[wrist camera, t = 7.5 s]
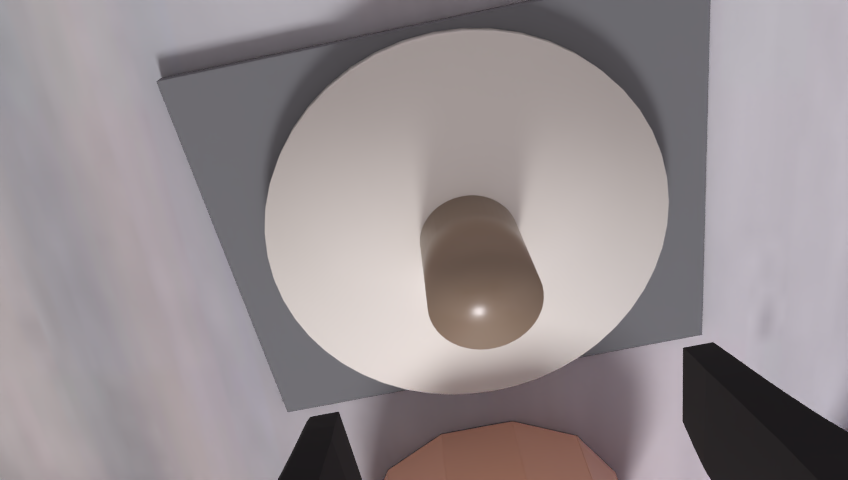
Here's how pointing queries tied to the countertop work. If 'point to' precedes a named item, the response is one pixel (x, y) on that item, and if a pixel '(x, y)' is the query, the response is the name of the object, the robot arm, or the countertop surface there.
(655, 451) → the countertop surface
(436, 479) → the bowl
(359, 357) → the lid
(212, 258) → the countertop surface
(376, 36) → the mat
